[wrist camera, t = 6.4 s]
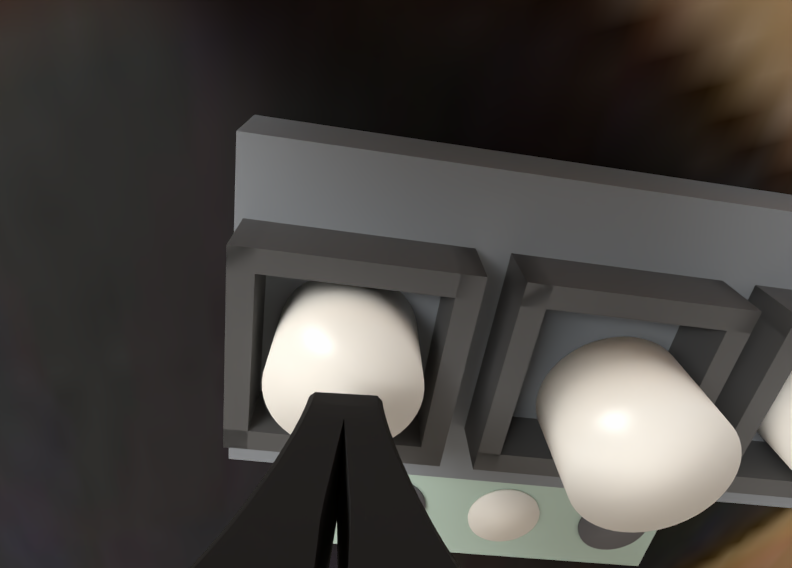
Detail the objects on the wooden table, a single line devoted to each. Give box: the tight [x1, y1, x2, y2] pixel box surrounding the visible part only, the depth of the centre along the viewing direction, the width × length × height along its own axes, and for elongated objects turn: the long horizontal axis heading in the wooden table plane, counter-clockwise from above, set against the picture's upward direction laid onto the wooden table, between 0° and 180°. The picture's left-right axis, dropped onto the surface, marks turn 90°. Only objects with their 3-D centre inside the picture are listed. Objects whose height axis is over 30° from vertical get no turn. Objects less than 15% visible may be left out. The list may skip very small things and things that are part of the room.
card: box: [333, 474, 657, 566], centre depth 20 cm, size 12×4×1 cm, turn 81°
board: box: [223, 115, 792, 508], centre depth 15 cm, size 19×10×4 cm, turn 81°
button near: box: [262, 280, 424, 437], centre depth 13 cm, size 4×4×2 cm
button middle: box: [536, 337, 742, 533], centre depth 12 cm, size 4×4×2 cm
